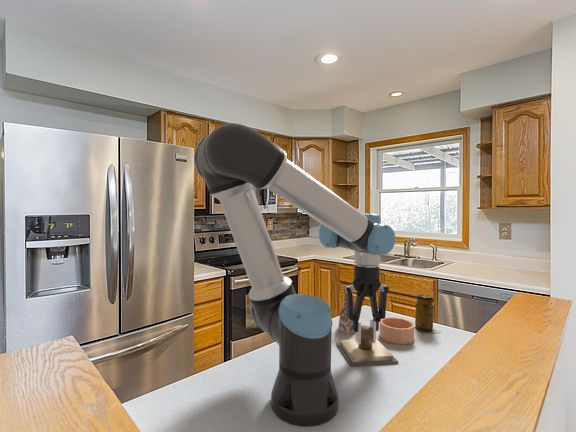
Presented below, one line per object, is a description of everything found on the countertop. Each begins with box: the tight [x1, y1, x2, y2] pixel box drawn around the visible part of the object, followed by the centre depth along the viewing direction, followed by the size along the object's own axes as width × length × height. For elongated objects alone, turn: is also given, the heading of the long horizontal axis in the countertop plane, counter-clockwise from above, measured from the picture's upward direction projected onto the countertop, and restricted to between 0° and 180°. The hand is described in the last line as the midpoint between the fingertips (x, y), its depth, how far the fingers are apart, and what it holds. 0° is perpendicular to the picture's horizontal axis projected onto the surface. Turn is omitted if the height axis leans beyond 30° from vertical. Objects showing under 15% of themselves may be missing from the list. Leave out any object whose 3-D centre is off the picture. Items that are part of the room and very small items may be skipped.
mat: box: [336, 342, 399, 367], centre depth 98 cm, size 14×14×1 cm
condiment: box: [414, 294, 442, 335], centre depth 117 cm, size 7×8×12 cm
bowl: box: [379, 316, 415, 346], centre depth 110 cm, size 11×11×5 cm
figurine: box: [338, 297, 356, 334], centre depth 117 cm, size 7×7×12 cm
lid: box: [339, 325, 394, 362], centre depth 98 cm, size 12×12×7 cm
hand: (365, 341), depth 98 cm, fingers closed on lid, 4 cm apart
